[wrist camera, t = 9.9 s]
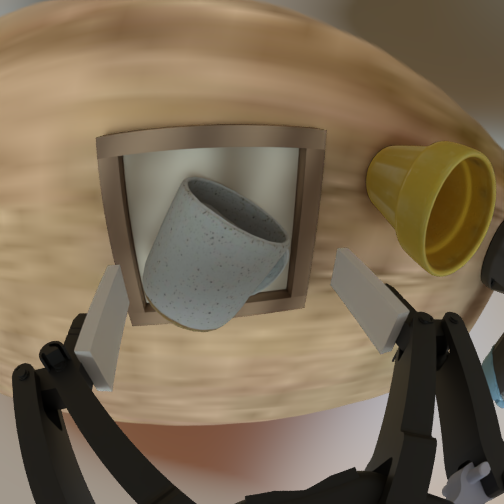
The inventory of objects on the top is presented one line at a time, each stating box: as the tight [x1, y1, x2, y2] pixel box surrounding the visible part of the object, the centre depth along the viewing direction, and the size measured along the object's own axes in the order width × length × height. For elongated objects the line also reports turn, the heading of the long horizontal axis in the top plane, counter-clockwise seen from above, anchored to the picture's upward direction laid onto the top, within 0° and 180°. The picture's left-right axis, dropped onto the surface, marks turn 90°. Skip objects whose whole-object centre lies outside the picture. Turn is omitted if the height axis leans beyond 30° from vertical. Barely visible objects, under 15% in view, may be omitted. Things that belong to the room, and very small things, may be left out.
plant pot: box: [366, 141, 496, 277], centre depth 19 cm, size 10×10×10 cm
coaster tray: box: [96, 124, 327, 326], centre depth 21 cm, size 16×16×2 cm
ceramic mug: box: [142, 177, 290, 332], centre depth 18 cm, size 11×8×8 cm
